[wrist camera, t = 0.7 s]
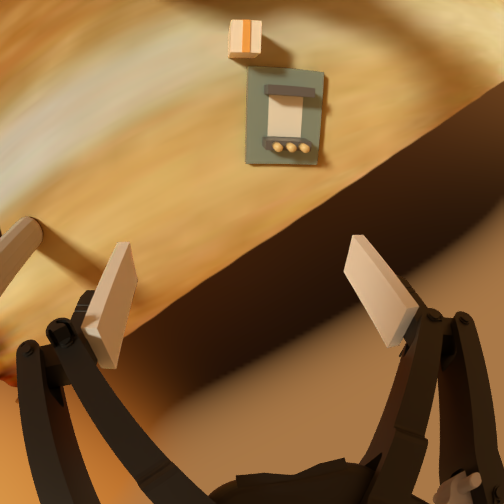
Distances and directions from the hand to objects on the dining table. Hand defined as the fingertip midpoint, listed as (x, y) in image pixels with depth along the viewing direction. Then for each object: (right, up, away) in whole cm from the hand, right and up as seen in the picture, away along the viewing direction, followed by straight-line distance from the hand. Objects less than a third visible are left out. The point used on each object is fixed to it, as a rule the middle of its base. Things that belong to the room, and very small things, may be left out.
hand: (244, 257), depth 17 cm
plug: (-1, +32, +20) cm, 38 cm away
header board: (+5, +22, +27) cm, 35 cm away
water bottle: (-46, +5, +30) cm, 55 cm away
